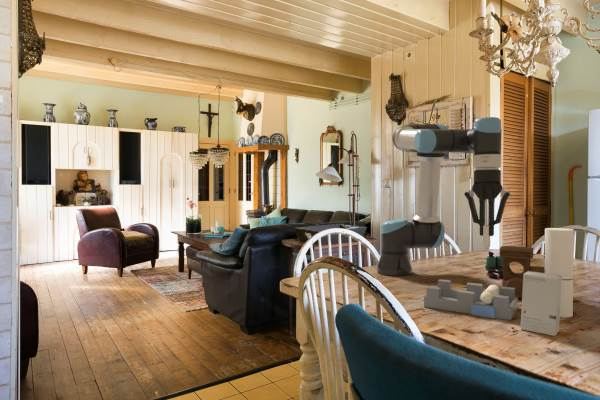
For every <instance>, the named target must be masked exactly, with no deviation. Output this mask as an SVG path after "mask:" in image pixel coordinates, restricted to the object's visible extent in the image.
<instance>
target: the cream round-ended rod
mask: <svg viewBox="0 0 600 400" xmlns="http://www.w3.org/2000/svg"><path fill="white" fill-rule="evenodd" d="M494 295H500V287H499V286H498V285H496V284H490V285H488V287H487V288H486V289H484V290H483V293H482V294H481V296H480V299H481V301H482V302H483V303H485V304H490V303H492V302H493V296H494Z"/></svg>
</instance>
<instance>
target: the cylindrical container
mask: <svg viewBox="0 0 600 400" xmlns="http://www.w3.org/2000/svg"><path fill="white" fill-rule="evenodd" d="M574 230H575V229H573V228H564V227H545V228H544V255H545V259H544V267H545V273H547V274H553V275H559V276H562V286H561V304H560V318H573V315H574V313H573V312H574V242H575V241H574V240H575V239H574V233H575V231H574Z"/></svg>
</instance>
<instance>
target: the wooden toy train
mask: <svg viewBox="0 0 600 400" xmlns="http://www.w3.org/2000/svg"><path fill="white" fill-rule="evenodd" d="M499 253H500V254H499V256H500V257H502V267H503V278H504V279H502V281H501V282H502V284H501V287H511V288H515V297H518V299H522V292H523V276H524V273H526V272H528V271H531V272H539V273H545V266H535V265H531V260H533V258H534V247H529V246H518V245H515V246H514V245H502V246H500V247H499ZM543 259H544V260H545V254H544V255H543ZM511 263H512V264H513V263H518V264H520V265H521V266H522V267H523V271H522V272H514V271H513V270H512V269H511V266H510V265H511Z"/></svg>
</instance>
